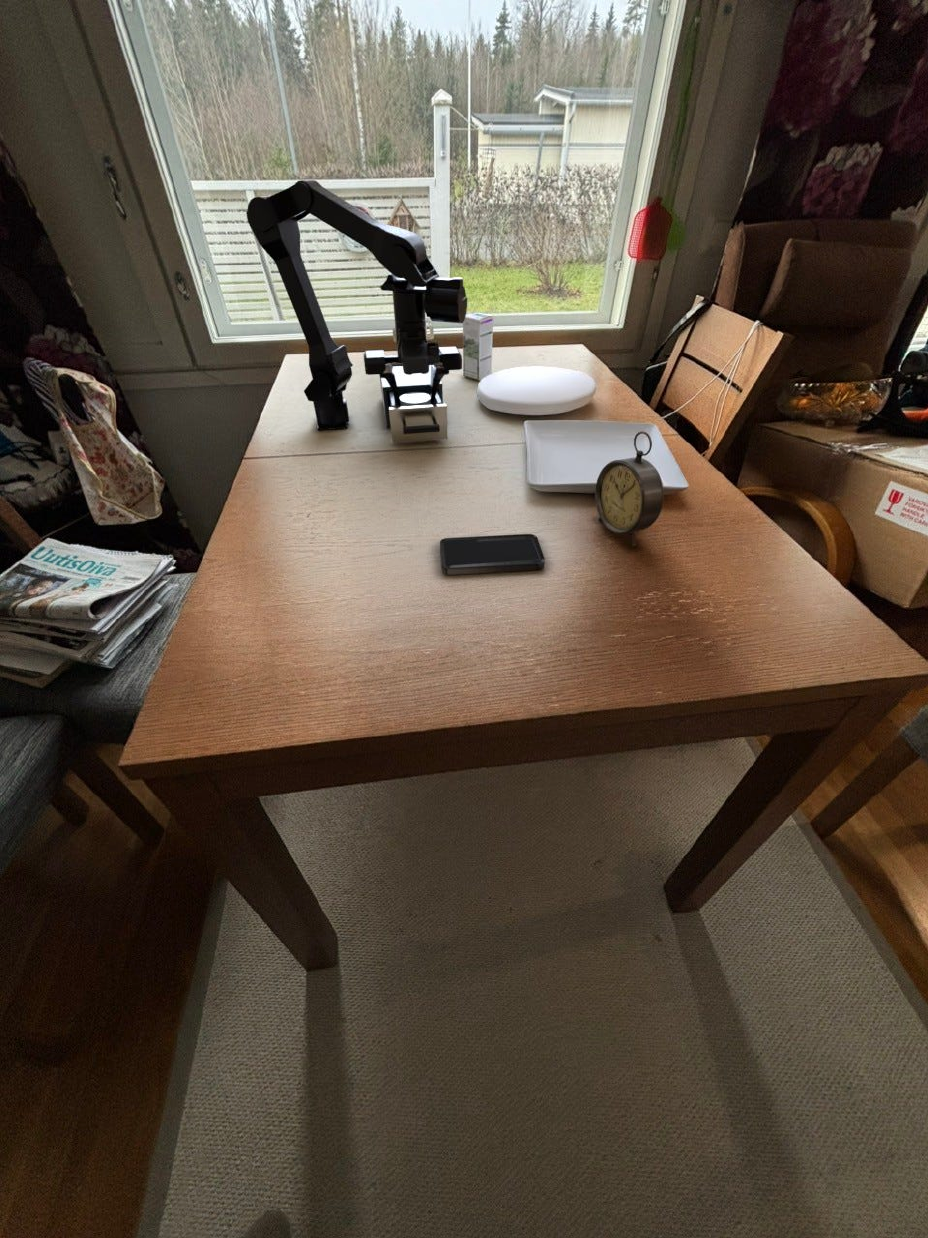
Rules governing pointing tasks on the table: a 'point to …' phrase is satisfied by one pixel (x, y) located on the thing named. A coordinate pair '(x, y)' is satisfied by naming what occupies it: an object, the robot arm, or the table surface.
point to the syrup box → (477, 345)
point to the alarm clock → (629, 494)
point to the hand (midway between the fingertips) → (415, 405)
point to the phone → (491, 554)
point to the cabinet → (405, 386)
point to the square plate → (592, 453)
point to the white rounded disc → (536, 390)
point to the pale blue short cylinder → (415, 399)
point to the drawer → (417, 419)
